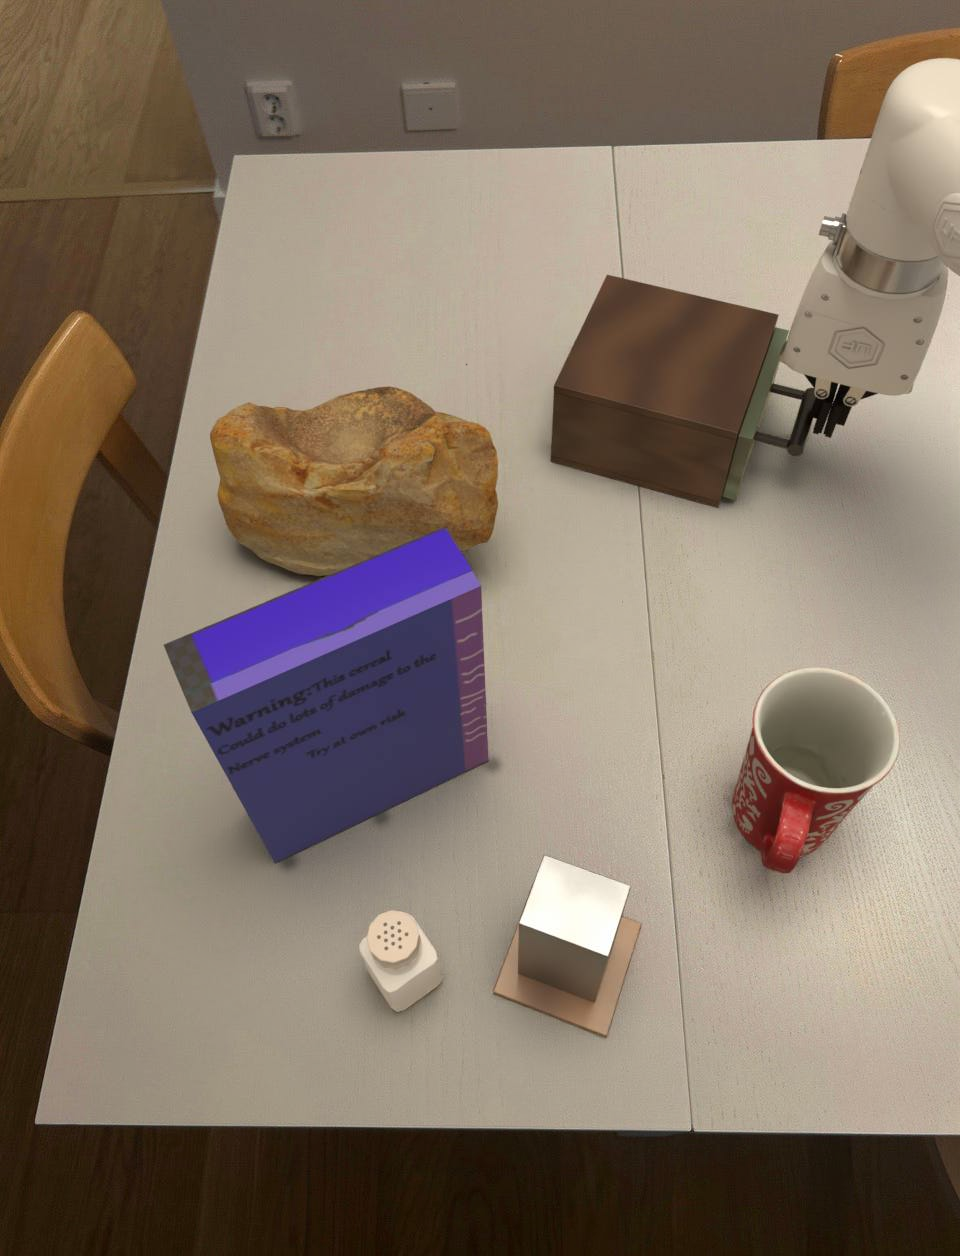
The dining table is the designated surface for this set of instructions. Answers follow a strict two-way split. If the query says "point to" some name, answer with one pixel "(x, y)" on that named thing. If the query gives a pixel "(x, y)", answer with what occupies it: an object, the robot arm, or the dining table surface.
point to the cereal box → (344, 692)
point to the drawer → (756, 414)
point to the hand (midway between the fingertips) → (825, 423)
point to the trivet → (564, 1003)
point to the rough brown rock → (352, 478)
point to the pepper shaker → (400, 959)
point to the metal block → (570, 927)
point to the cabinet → (659, 388)
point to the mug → (810, 761)
